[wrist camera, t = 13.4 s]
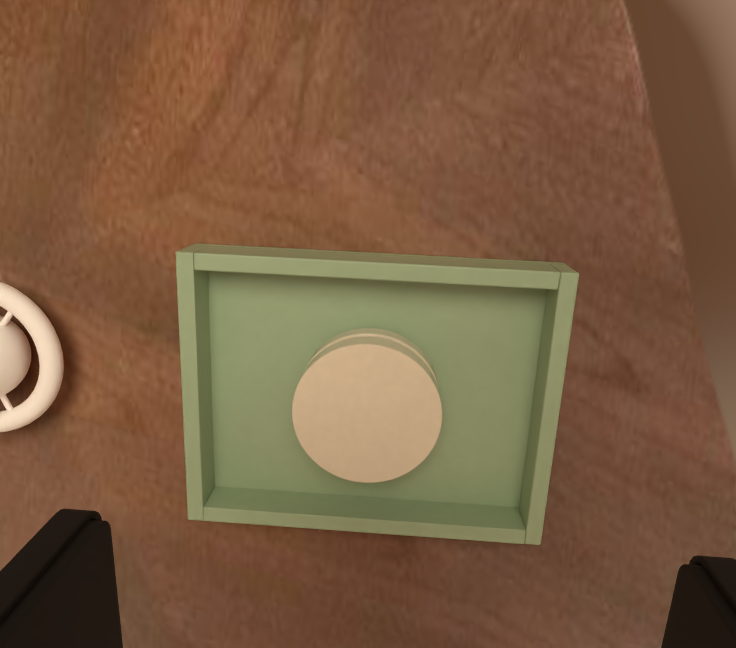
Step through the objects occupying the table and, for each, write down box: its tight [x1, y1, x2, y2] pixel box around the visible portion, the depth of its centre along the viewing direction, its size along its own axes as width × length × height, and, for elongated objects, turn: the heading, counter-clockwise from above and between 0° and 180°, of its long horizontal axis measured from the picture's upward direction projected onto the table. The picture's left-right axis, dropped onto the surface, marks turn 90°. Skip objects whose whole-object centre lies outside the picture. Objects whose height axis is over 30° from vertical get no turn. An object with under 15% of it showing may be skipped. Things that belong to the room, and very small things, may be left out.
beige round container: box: [292, 328, 442, 483], centre depth 29 cm, size 7×7×3 cm
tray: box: [176, 243, 579, 545], centre depth 29 cm, size 18×14×3 cm
